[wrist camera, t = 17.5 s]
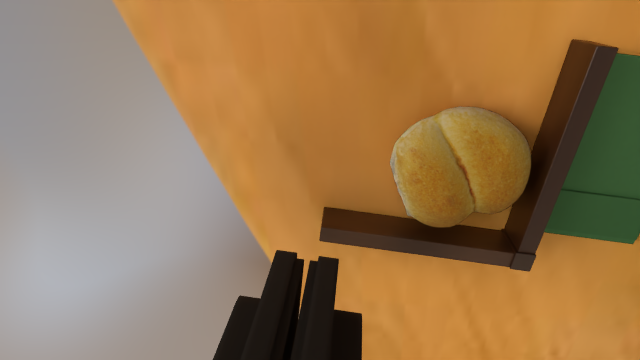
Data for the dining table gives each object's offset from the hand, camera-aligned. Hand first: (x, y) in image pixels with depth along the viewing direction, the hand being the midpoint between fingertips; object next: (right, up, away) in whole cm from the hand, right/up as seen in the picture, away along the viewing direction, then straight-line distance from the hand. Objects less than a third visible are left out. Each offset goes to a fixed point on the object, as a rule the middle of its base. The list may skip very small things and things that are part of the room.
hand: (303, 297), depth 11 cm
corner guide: (+9, +6, +18) cm, 20 cm away
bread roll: (+10, +4, +18) cm, 21 cm away
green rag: (+21, +5, +17) cm, 27 cm away
